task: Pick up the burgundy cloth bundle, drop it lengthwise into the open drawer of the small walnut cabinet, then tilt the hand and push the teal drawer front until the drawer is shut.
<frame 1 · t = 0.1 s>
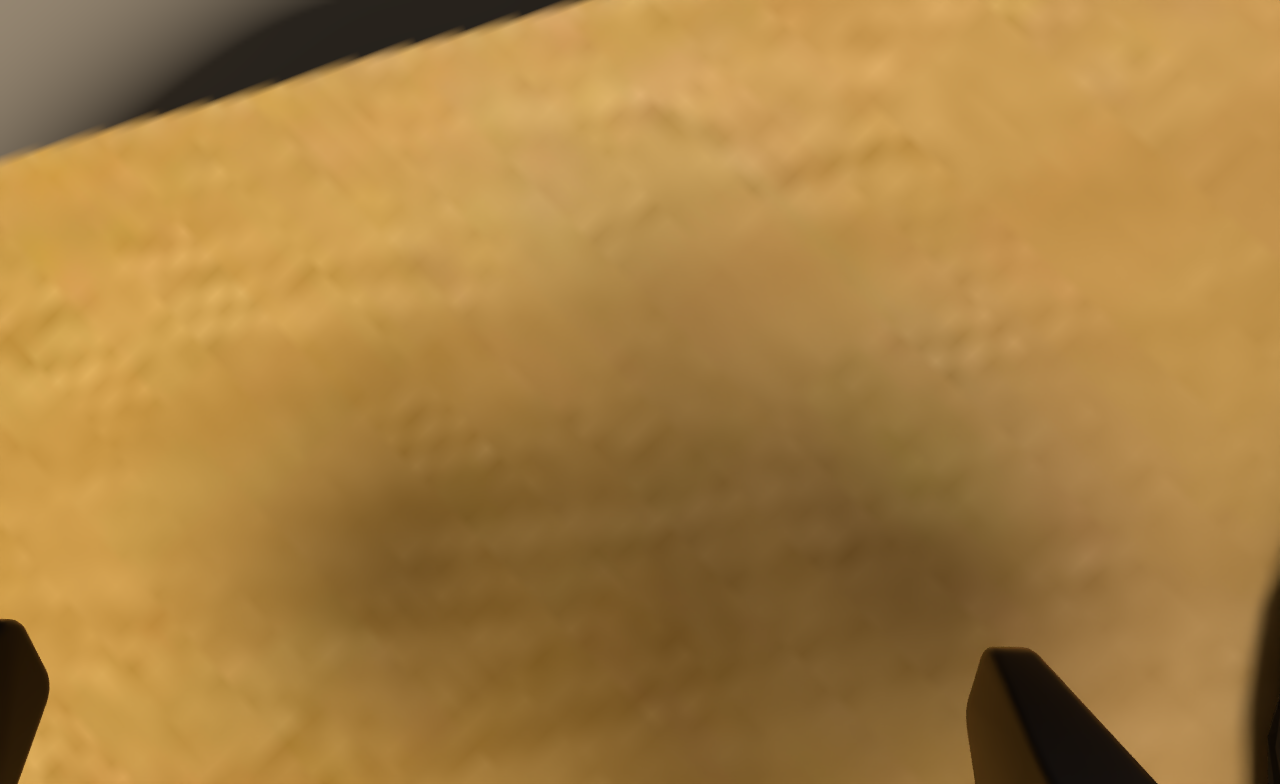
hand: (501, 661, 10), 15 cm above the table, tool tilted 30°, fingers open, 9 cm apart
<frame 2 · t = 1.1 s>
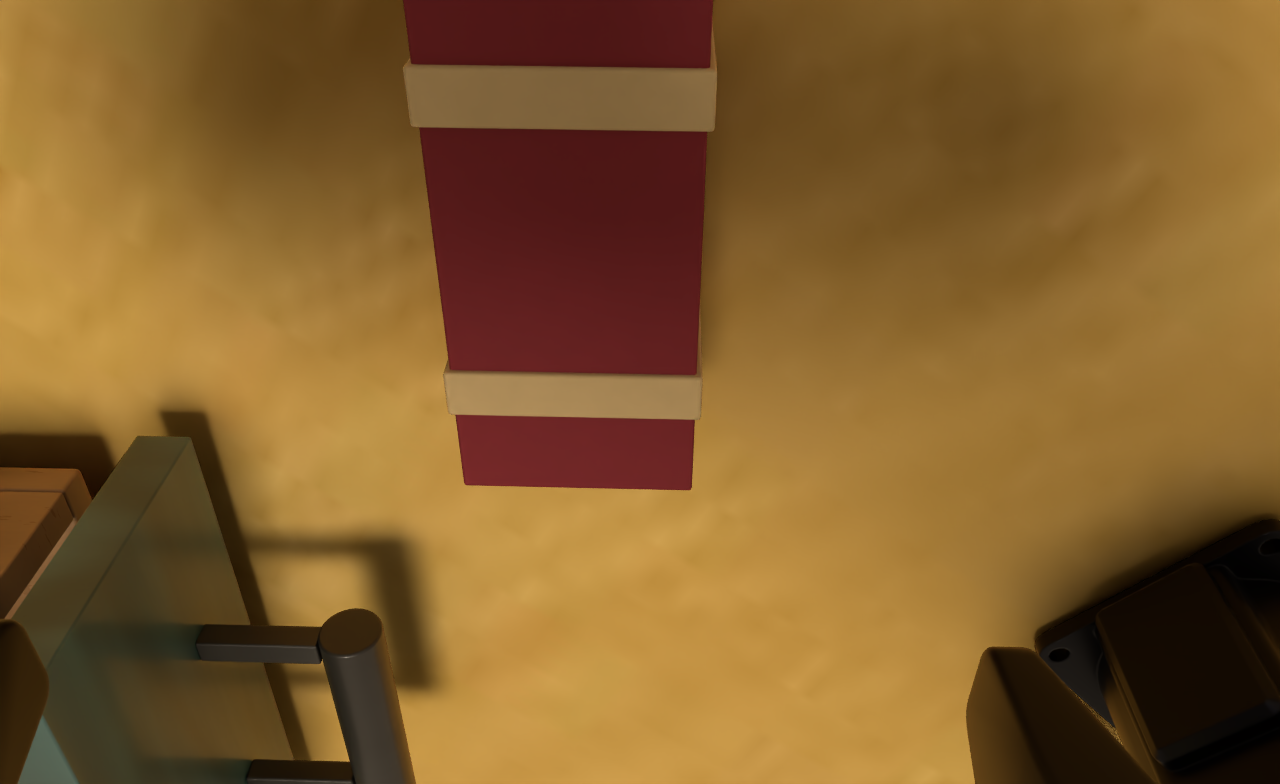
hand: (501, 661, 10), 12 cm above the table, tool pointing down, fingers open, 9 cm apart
drawer: (69, 756, 23), point 4 cm above the table, slide at 7.0 cm
bundle: (585, 162, 19), on the table
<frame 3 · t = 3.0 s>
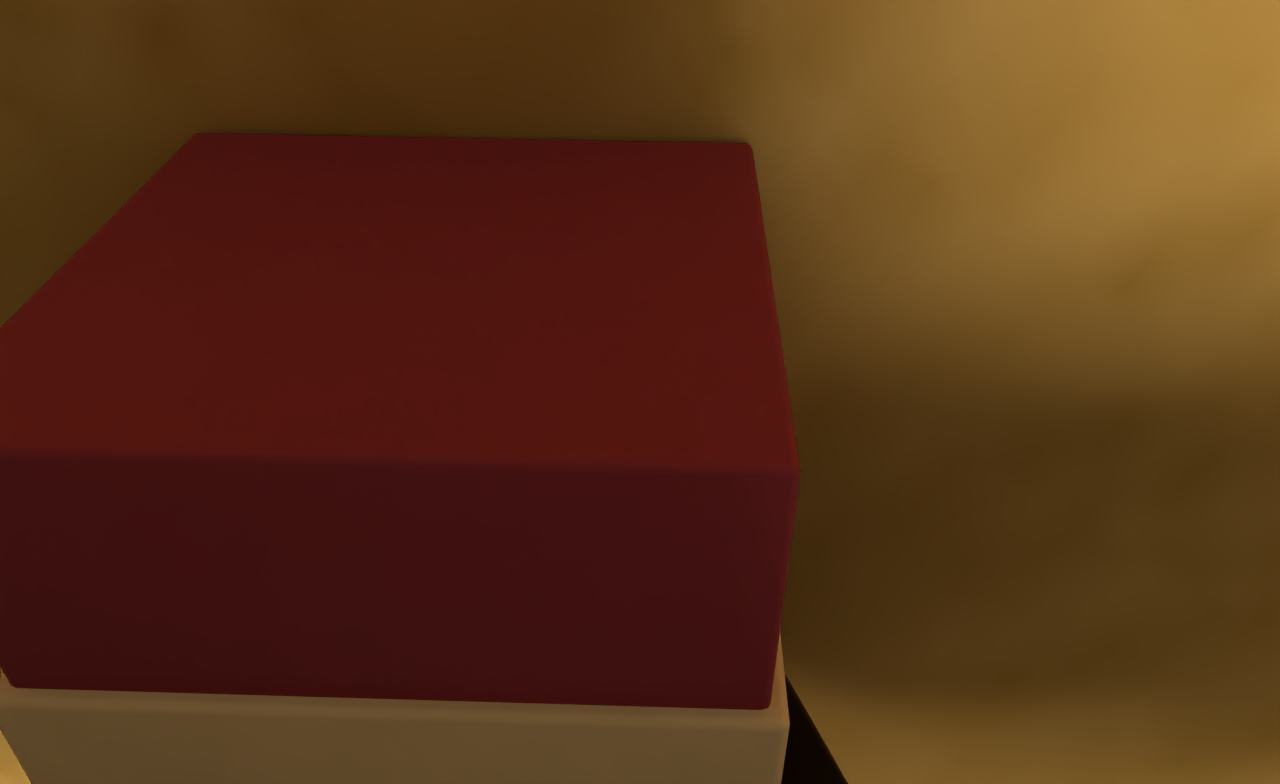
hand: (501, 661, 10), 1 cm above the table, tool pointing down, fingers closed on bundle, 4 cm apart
bundle: (513, 581, 10), on the table, touching gripper
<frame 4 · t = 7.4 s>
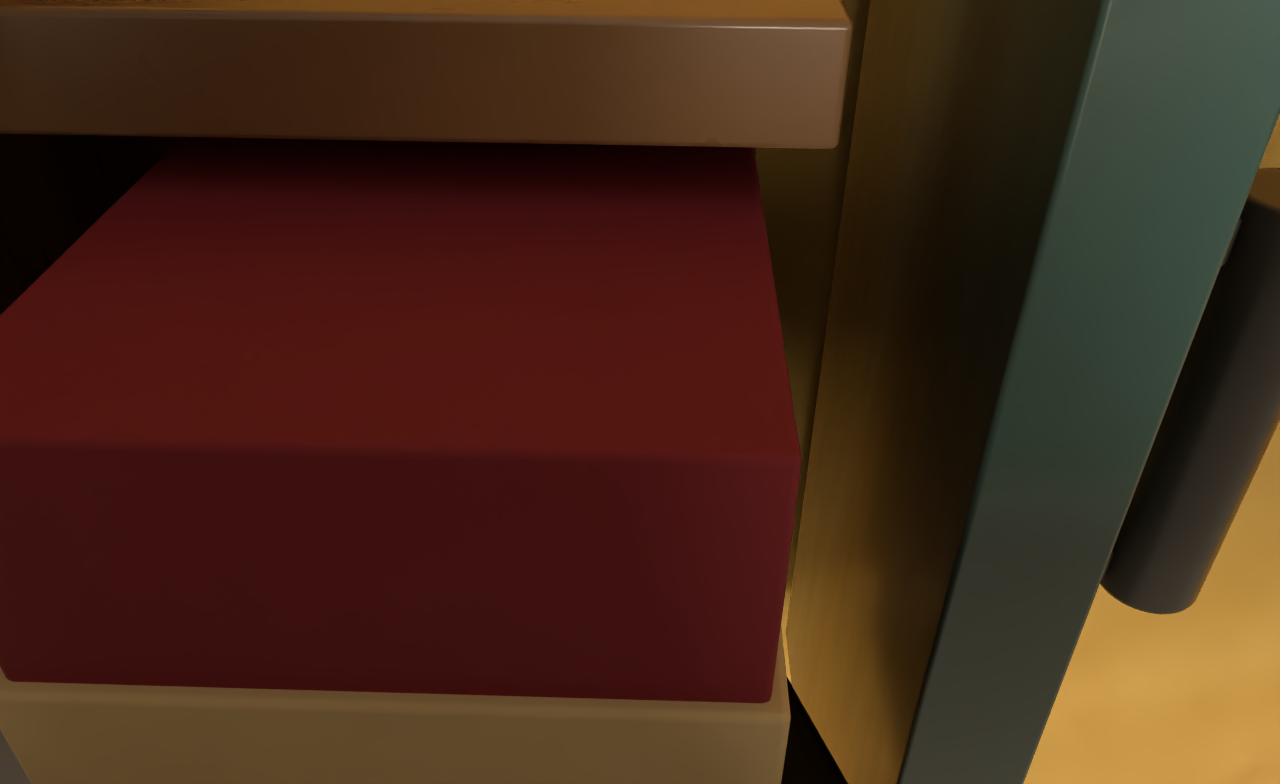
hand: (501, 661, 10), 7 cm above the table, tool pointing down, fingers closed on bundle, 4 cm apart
drawer: (690, 464, 12), point 4 cm above the table, slide at 7.0 cm
bundle: (512, 577, 10), point 6 cm above the table, touching gripper
when the fingers open (10 cm above the table, at t = 19.1 s): bundle drops 7 cm, resting on drawer.
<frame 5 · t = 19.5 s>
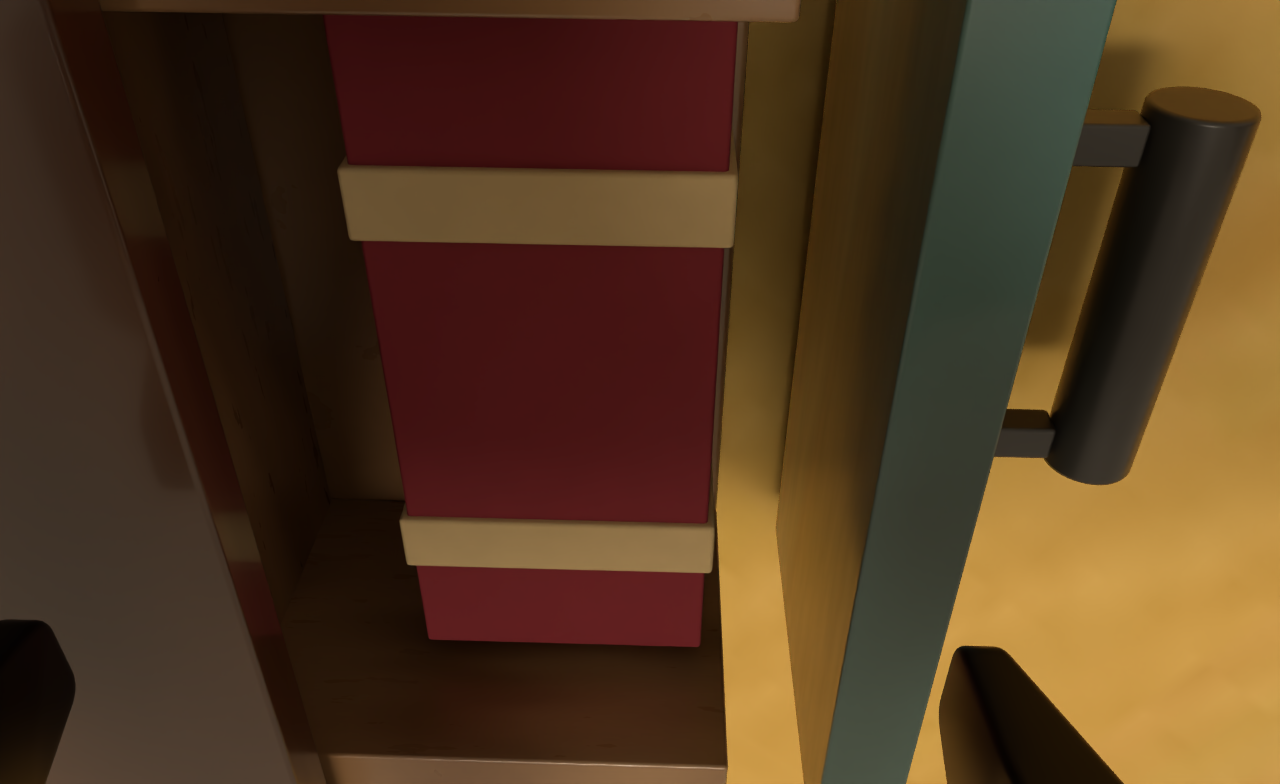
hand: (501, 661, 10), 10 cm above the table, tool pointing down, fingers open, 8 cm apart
drawer: (690, 338, 14), point 4 cm above the table, slide at 7.0 cm, touching bundle
cabinet: (69, 191, 18), on the table
bundle: (574, 252, 16), point 2 cm above the table, touching drawer
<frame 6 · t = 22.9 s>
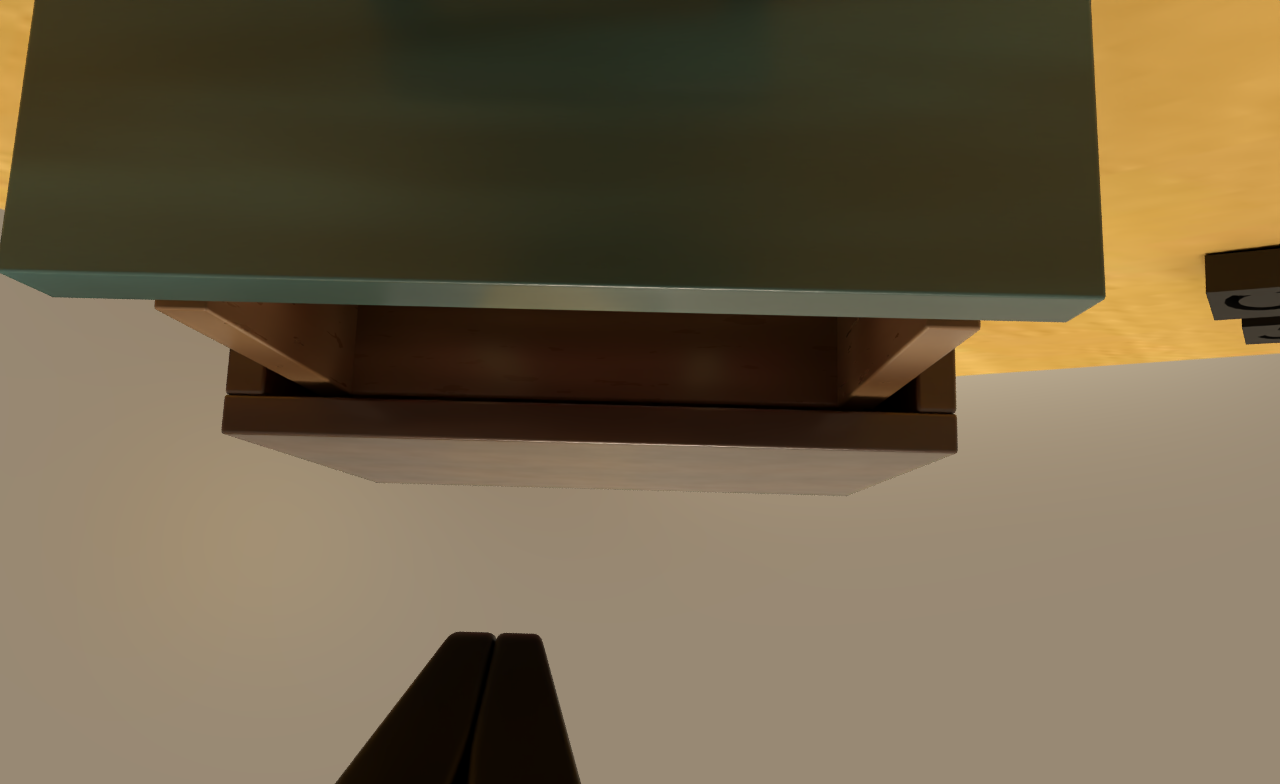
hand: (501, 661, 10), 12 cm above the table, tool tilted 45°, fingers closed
drawer: (576, 131, 16), point 4 cm above the table, slide at 7.0 cm, touching bundle
cabinet: (613, 150, 27), on the table
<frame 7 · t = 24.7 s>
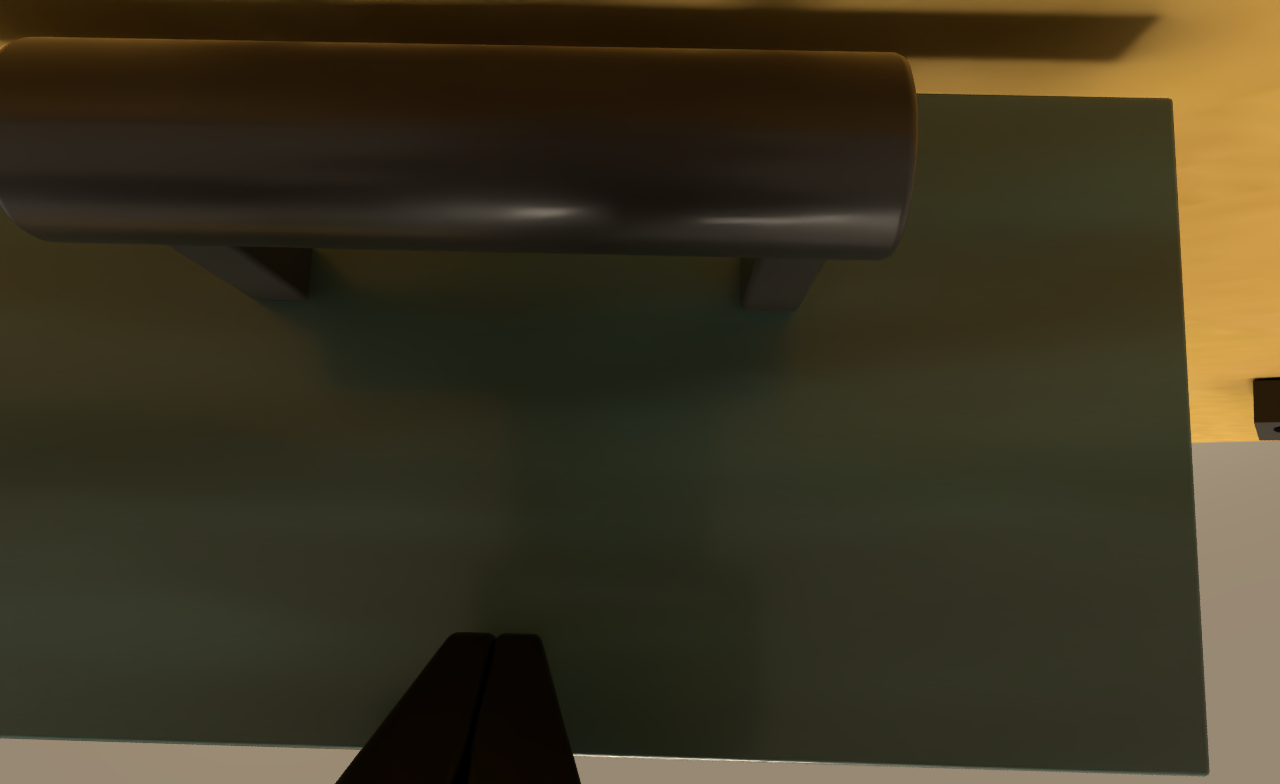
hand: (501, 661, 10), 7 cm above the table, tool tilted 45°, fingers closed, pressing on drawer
drawer: (551, 437, 13), point 4 cm above the table, slide at 6.7 cm, touching bundle, gripper
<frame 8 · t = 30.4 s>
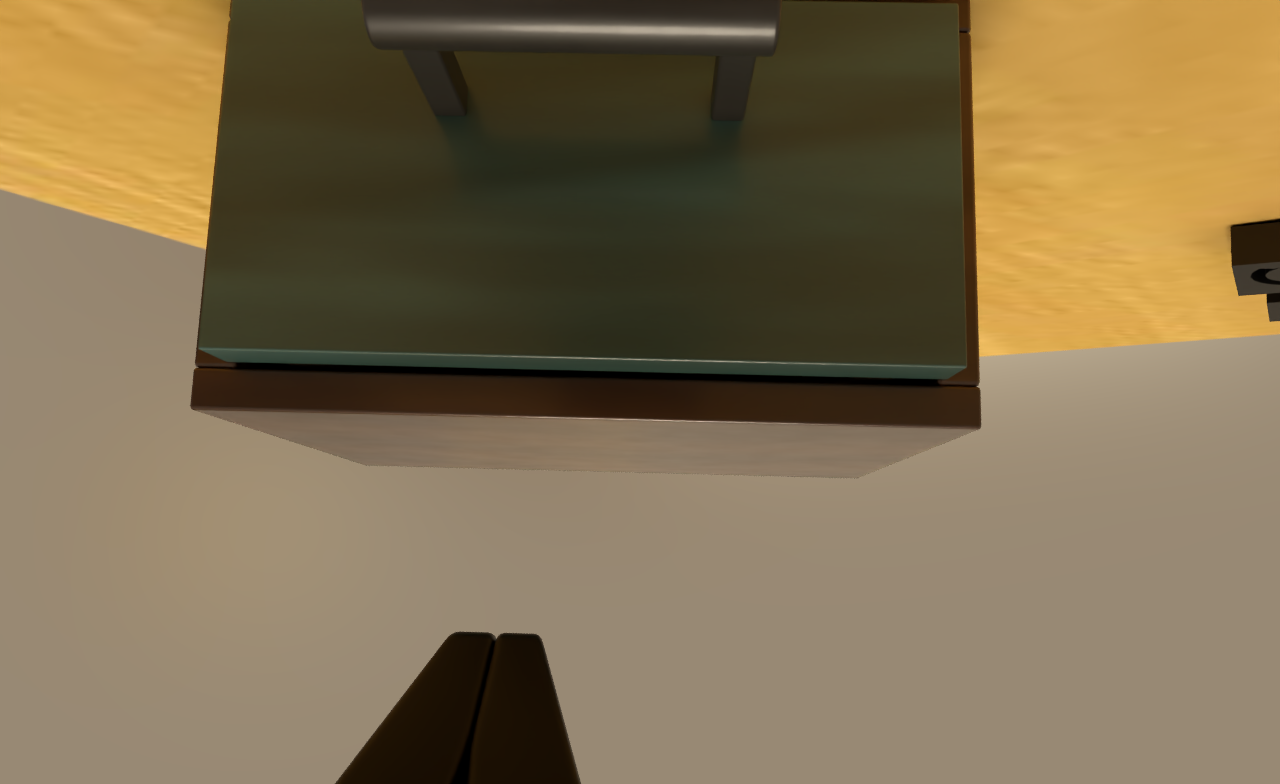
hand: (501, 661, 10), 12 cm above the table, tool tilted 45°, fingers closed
drawer: (596, 228, 22), point 4 cm above the table, slide at 0.0 cm, touching bundle, cabinet
cabinet: (611, 112, 26), on the table
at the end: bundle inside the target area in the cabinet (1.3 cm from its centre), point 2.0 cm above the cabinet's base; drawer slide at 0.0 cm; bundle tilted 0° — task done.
